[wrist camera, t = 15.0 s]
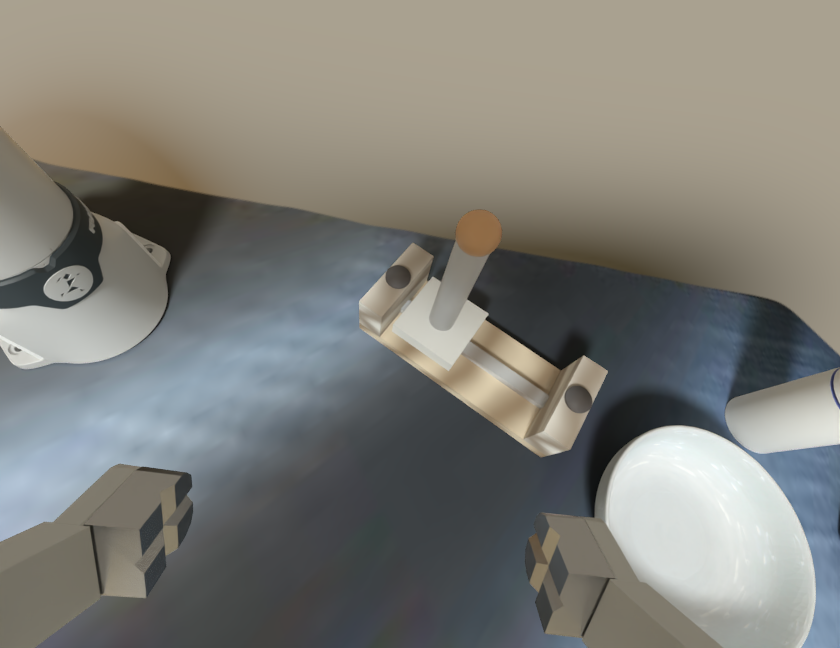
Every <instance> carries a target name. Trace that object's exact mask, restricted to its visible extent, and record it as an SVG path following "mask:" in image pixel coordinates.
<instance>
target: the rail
mask: <svg viewBox="0 0 840 648" xmlns="http://www.w3.org/2000/svg"><path fill="white" fill-rule="evenodd" d="M433 257H434V256H433V255H431V254H429V253H428V252H426V251H425V250H423V249H422V248H420V247H419V246H417V245H416V244H414V243H412V244H411V245H410V246H409V247H408V248H407V249H406V251H405V252H404V253H403V254H402V255H401V256H400V257H399V258H398V259H397V260H396V262H395V263H394V264H393V265H392V266H391V267H390V268H389V269H388V270H387V271H386V272H385V274H384V275H383V276H382V277H381V278H380V279H379V280H378V281H377V282H376V283H375V285H374V286H373V287H372V288H371V289H370V290H369V291H368V292H367V293H366V294H365V295H364V297H363V298H362V299H361V300H360V301H359V320H360V329H362V330H363V331H365V332H366V333H367V334H369V335H370V336H372V337H373V338H374V339H376V340H377V341H379V342H380V343H381V344H383V345H384V346H386V347H387V348H388V349H390V350H391V351H393V352H394V353H395V354H397V355H398V356H400V357H401V358H402V359H404V360H405V361H407V362H408V363H409V364H411V365H412V366H414V367H415V368H416V369H418V370H419V371H421V372H422V373H423V374H425V375H426V376H428V377H429V378H430V379H432V380H433V381H435V382H436V383H437V384H439V385H440V386H442V387H443V388H444V389H446V390H447V391H449V392H450V393H451V394H453V395H454V396H456V397H457V398H458V399H460V400H461V401H463V402H464V403H465V404H467V405H468V406H470V407H471V408H472V409H474V410H475V411H477V412H478V413H479V414H481V415H482V416H484V417H485V418H486V419H488V420H489V421H491V422H492V423H493V424H495V425H496V426H498V427H499V428H500V429H502V430H503V431H505V432H506V433H507V434H509V435H510V436H512V437H513V438H514V439H516V440H517V441H519V442H520V443H521V444H523V445H524V446H526V447H527V448H528V449H530V450H531V451H533V452H534V453H535V454H537V455H538V456H540V457H544V456H548V455H552V454H556V453H559V452H563V451H567V450H570V449H571V447H572V445H573V443H574V441H575V439H576V437H577V435H578V432H579V430H580V428H581V426H582V424H583V422H584V420H585V418H586V416H587V414H588V412H589V410H590V408H591V406H592V404H593V401H594V399H595V397H596V395H597V393H598V391H599V389H600V387H601V385H602V383H603V381H604V379H605V377H606V375H607V373H608V371H607V370H605V369H604V368H602V367H601V366H599V365H598V364H596V363H595V362H593V361H592V360H590V359H589V358H587V357H586V356H582V357H581V358H579V359H578V360H576V361H575V362H573V363H572V364H570V365H569V366H567V367H566V368H564V369H563V370H559V369H558V368H556V367H555V366H553V365H552V364H550V363H549V362H547V361H546V360H544V359H543V358H541V357H540V356H538V355H537V354H535V353H534V352H532V351H531V350H529V349H528V348H526V347H525V346H523V345H522V344H520V343H519V342H517V341H516V340H514V339H513V338H511V337H510V336H508V335H507V334H505V333H504V332H503V331H501V330H500V329H498V328H497V327H495V326H494V325H492V324H491V323H489V322H488V321H486V320H484V322H483V323H482V325H481V326H480V327H479V329H478V330H477V332H476V333H475V335H474V336H473V337H472V339H471V340H470V342H469V343H468V345H467V346H466V347H465V349H464V350H463V352H462V353H461V354H460V356H459V357H458V359H457V360H456V362H455V363H454V364H453V366H452V367H451V369H450V370H449V371H447V370H446V369H445V368H443V367H442V366H440V365H439V364H438V363H436V362H435V361H433V360H432V359H430V358H429V357H428V356H426V355H425V354H423V353H422V352H421V351H419V350H418V349H416V348H415V347H413V346H412V345H411V344H409V343H408V342H406V341H405V340H404V339H402V338H401V337H399V336H398V335H396V334H395V333H394V332H392V328H393V324H394V323H395V321H396V320H397V319H398V318H399V317H400V315H401V314H402V313H403V312H404V311H405V309H406V308H407V307H408V306H409V304H410V303H411V302H412V301H413V300H414V298H415V297H416V296H417V295H418V294H419V292H420V291H421V290H422V289H423V288H424V286H425V285H426V284H427V283H428V281H427V278H428V275H429V271H430V268H431V264H432V261H433Z"/></svg>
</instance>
